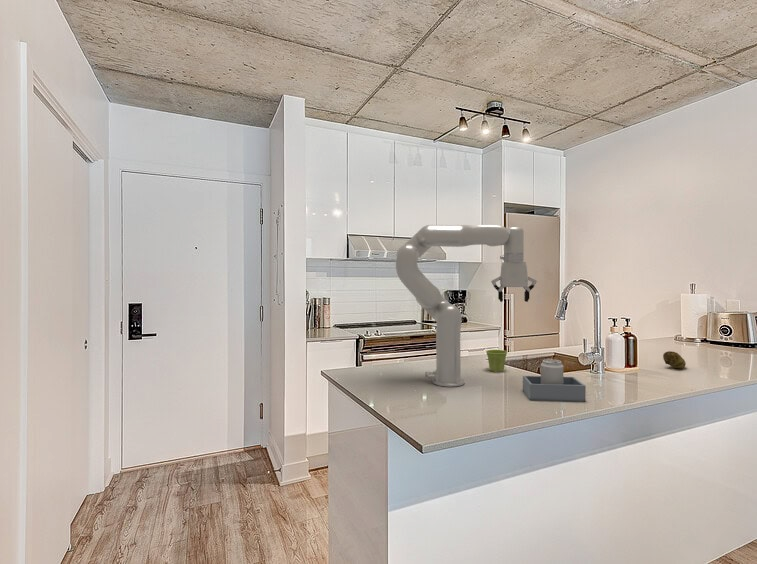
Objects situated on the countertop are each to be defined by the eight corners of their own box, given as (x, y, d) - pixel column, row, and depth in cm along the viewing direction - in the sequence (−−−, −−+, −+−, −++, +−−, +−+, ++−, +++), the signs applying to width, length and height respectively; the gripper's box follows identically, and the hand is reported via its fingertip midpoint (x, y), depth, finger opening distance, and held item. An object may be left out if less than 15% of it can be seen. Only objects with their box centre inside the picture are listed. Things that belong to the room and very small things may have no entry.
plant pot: (485, 372, 184) (485, 352, 183) (486, 367, 193) (486, 349, 192) (507, 373, 181) (507, 353, 181) (507, 369, 190) (507, 350, 190)
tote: (530, 400, 143) (530, 384, 143) (522, 390, 155) (522, 375, 155) (585, 401, 141) (585, 385, 141) (573, 391, 153) (573, 376, 153)
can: (565, 397, 144) (565, 363, 144) (542, 396, 145) (542, 362, 145) (560, 391, 151) (560, 358, 151) (539, 390, 153) (539, 358, 152)
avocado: (694, 369, 186) (695, 351, 186) (673, 371, 182) (673, 353, 182) (676, 365, 194) (676, 348, 194) (655, 367, 190) (655, 350, 190)
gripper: (492, 258, 164) (492, 302, 164) (538, 258, 161) (538, 302, 162) (490, 259, 171) (490, 300, 171) (534, 258, 169) (534, 300, 169)
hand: (513, 301), depth 167 cm, fingers open, 9 cm apart
